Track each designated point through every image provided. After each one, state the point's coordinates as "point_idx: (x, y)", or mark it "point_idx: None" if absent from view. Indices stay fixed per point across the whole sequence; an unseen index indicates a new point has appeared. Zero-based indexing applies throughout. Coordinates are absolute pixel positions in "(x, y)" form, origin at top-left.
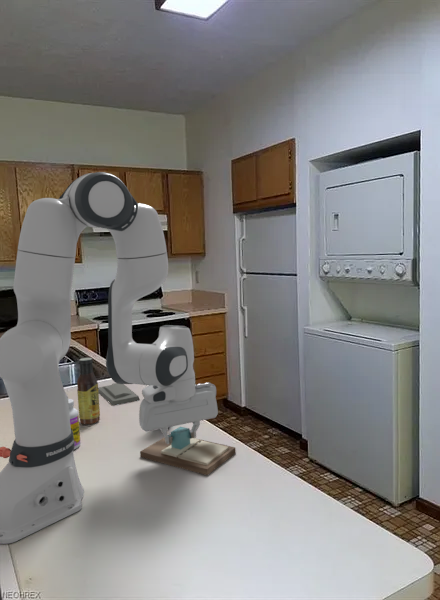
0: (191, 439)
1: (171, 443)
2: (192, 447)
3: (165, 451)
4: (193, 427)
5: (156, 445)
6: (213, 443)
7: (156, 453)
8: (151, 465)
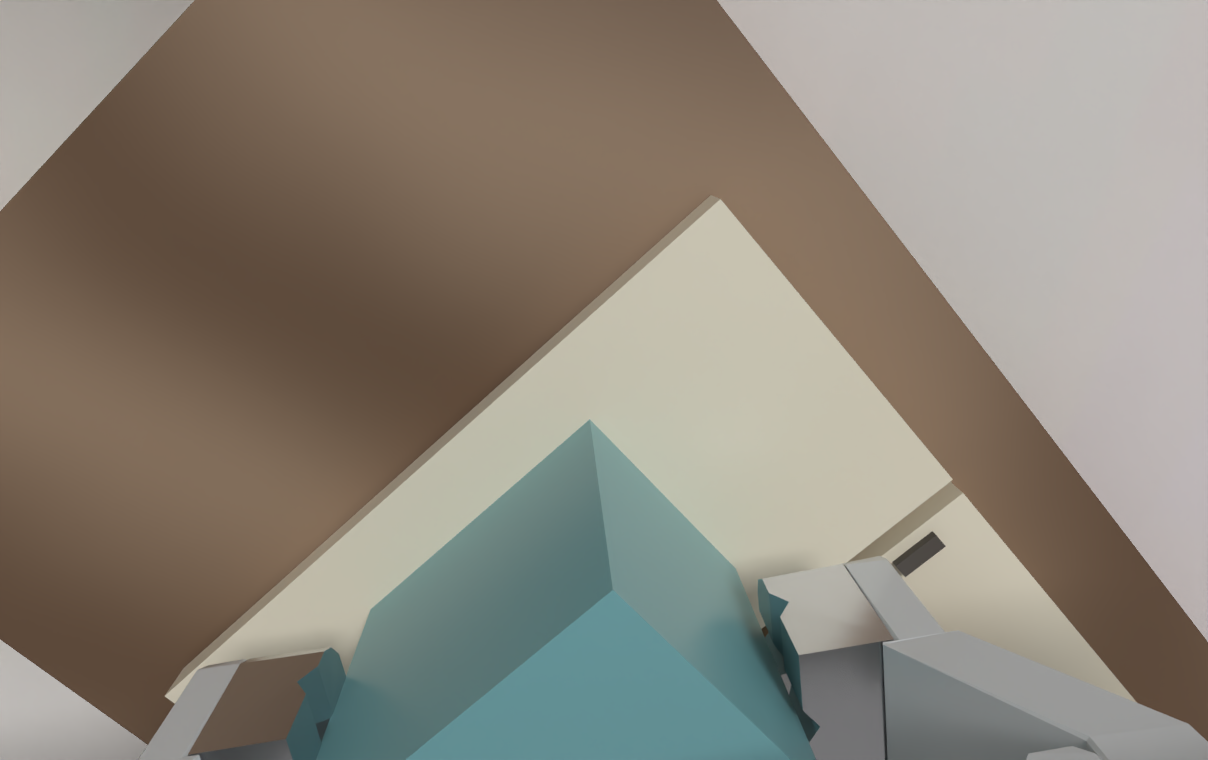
0: (807, 408)
1: (357, 654)
2: None
3: None
4: (959, 740)
5: (88, 314)
6: (1100, 669)
7: (101, 637)
8: (75, 727)
